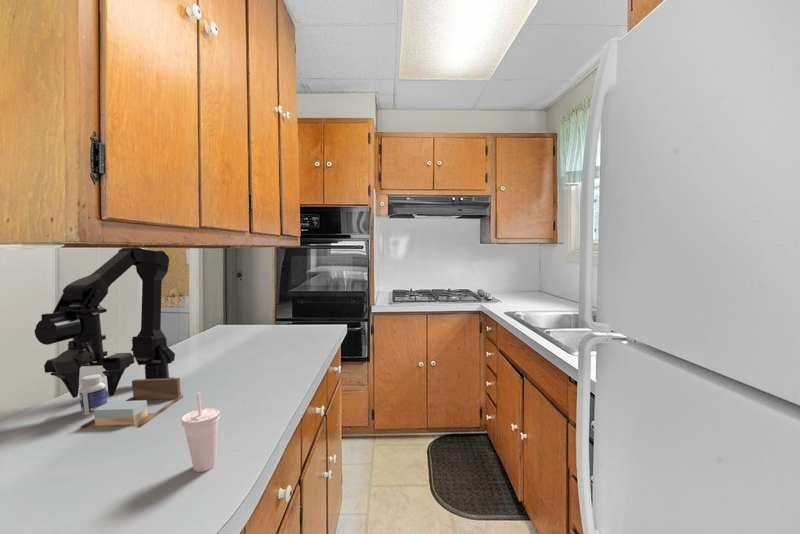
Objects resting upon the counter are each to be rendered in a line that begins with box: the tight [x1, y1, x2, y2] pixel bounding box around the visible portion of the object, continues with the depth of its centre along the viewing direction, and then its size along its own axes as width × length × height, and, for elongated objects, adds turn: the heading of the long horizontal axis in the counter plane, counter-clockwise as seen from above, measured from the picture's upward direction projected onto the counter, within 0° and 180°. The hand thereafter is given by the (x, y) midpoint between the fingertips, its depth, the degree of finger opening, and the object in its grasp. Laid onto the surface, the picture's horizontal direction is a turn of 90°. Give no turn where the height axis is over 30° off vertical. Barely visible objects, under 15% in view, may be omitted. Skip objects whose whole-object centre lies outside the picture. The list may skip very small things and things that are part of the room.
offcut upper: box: [93, 399, 148, 418], centre depth 98 cm, size 5×9×2 cm, turn 88°
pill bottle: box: [78, 373, 108, 416], centre depth 105 cm, size 5×5×9 cm
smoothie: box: [181, 391, 221, 473], centre depth 77 cm, size 6×6×14 cm
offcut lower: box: [94, 407, 149, 426], centre depth 98 cm, size 5×9×2 cm, turn 88°
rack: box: [80, 377, 184, 430], centre depth 103 cm, size 18×14×6 cm
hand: (93, 396), depth 105 cm, fingers open, 9 cm apart
